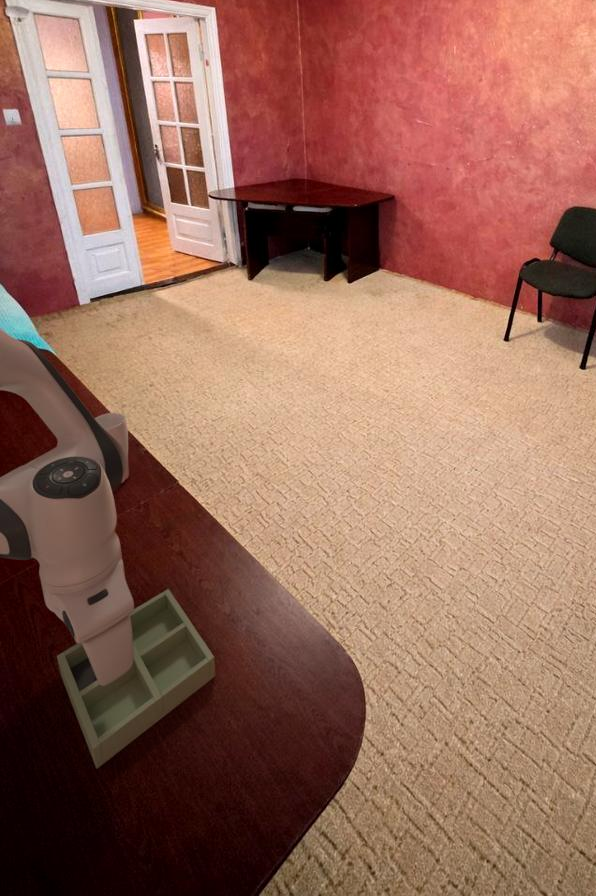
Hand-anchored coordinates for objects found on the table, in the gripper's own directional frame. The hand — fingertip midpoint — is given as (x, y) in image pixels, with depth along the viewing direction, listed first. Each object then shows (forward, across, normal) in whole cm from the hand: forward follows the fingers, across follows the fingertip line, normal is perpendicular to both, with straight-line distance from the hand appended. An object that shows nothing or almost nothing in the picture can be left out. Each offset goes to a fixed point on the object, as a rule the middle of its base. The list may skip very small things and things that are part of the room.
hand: (96, 650), depth 67 cm
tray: (+5, +4, +4) cm, 7 cm away
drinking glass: (+5, -42, +16) cm, 45 cm away
